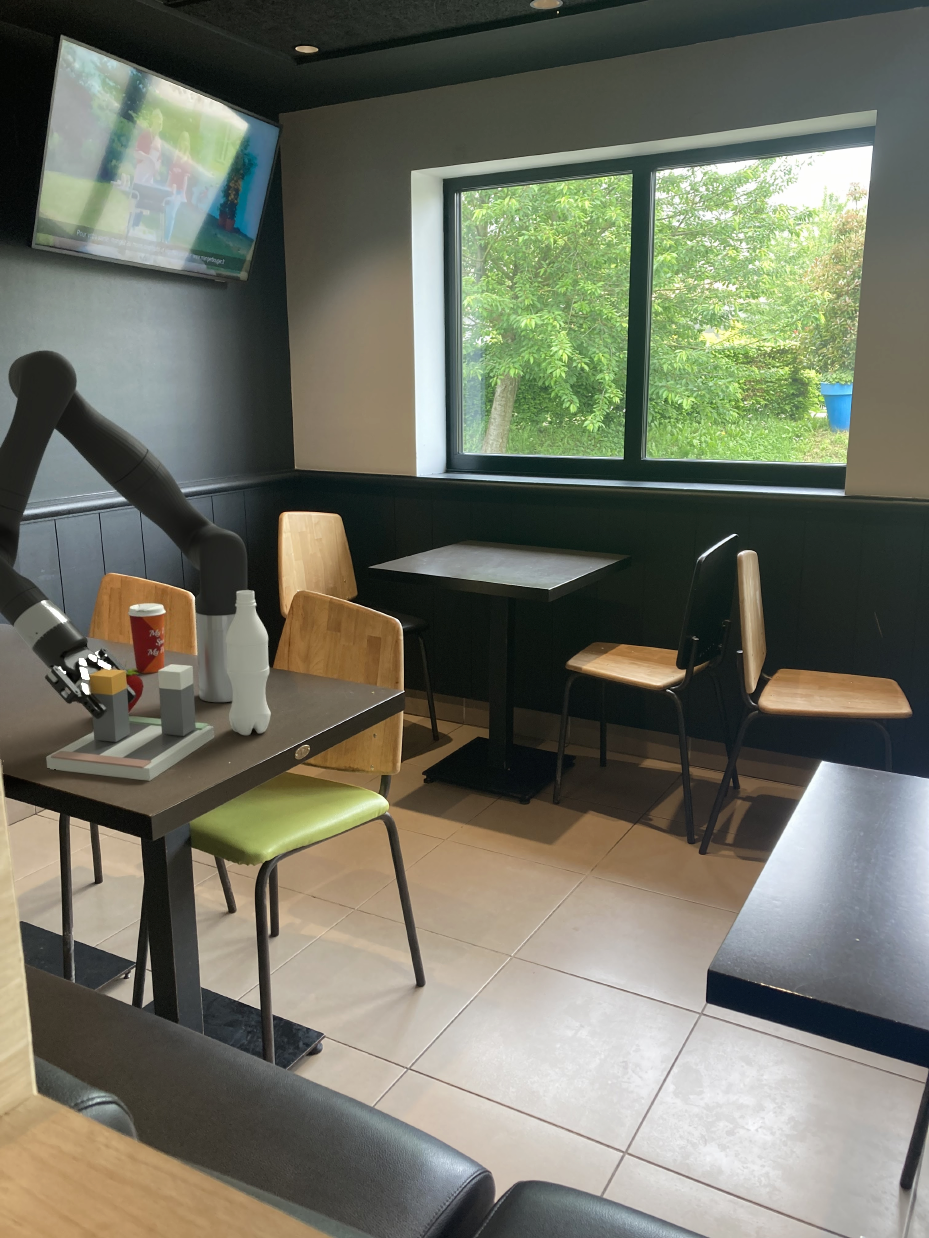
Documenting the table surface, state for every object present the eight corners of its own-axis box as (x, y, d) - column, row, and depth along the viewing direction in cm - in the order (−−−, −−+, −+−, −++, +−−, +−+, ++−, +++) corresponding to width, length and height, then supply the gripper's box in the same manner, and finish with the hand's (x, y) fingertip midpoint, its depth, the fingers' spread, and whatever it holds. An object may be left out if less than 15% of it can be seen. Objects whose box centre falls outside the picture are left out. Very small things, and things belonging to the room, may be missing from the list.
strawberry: (121, 706, 177) (118, 655, 175) (153, 712, 174) (149, 660, 172) (98, 715, 172) (94, 663, 169) (130, 721, 169) (126, 668, 166)
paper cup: (162, 675, 198) (158, 610, 195) (126, 674, 198) (121, 609, 195) (173, 665, 205) (170, 602, 202) (139, 664, 205) (135, 602, 202)
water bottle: (235, 739, 160) (229, 597, 155) (225, 727, 166) (219, 589, 161) (276, 733, 163) (271, 594, 158) (264, 721, 169) (260, 586, 164)
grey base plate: (122, 727, 165) (117, 654, 162) (214, 736, 161) (211, 662, 158) (46, 769, 146) (39, 687, 143) (149, 781, 142) (143, 697, 139)
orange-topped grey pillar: (108, 731, 156) (104, 668, 154) (130, 733, 156) (125, 670, 153) (94, 739, 153) (89, 675, 150) (115, 741, 152) (111, 677, 149)
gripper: (34, 629, 145) (105, 706, 145) (90, 610, 158) (155, 681, 158) (7, 659, 147) (77, 735, 147) (65, 638, 161) (129, 708, 161)
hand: (118, 707), depth 153 cm, fingers open, 7 cm apart
